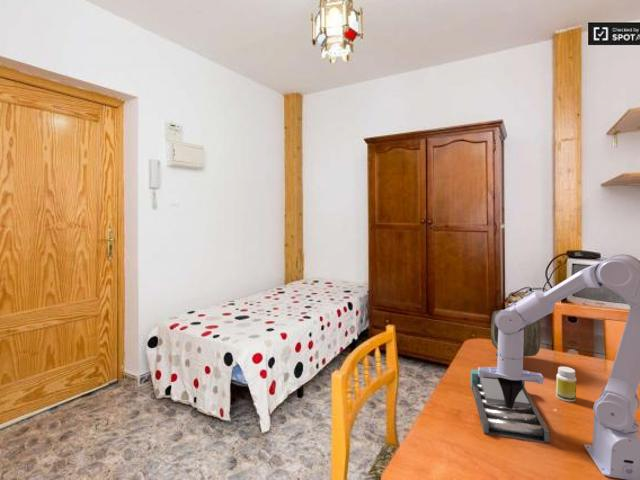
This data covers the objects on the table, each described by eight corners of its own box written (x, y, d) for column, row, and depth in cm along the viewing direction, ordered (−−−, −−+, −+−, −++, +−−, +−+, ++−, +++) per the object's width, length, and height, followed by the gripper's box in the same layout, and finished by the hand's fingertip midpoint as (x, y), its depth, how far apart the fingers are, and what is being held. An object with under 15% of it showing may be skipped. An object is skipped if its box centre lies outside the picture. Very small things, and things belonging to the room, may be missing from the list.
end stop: (524, 396, 101) (525, 379, 101) (472, 390, 105) (472, 374, 105) (521, 390, 105) (522, 374, 104) (470, 384, 109) (471, 369, 108)
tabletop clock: (490, 354, 131) (491, 288, 129) (511, 352, 133) (513, 287, 131) (518, 371, 117) (521, 298, 115) (542, 369, 119) (544, 296, 117)
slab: (529, 408, 90) (529, 403, 90) (486, 403, 93) (486, 397, 93) (517, 386, 101) (517, 381, 101) (479, 381, 104) (480, 377, 104)
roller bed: (549, 443, 81) (549, 432, 81) (483, 433, 85) (484, 422, 85) (523, 395, 102) (524, 386, 102) (472, 389, 106) (472, 380, 106)
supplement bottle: (579, 402, 98) (580, 373, 97) (560, 401, 99) (561, 372, 98) (570, 394, 102) (571, 366, 102) (552, 392, 103) (553, 365, 103)
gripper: (537, 351, 91) (536, 402, 92) (476, 346, 95) (475, 394, 96) (546, 363, 84) (544, 417, 85) (480, 356, 88) (479, 408, 89)
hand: (508, 406), depth 90 cm, fingers closed, pressing on slab
